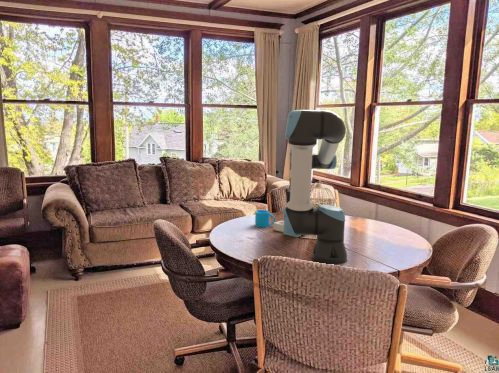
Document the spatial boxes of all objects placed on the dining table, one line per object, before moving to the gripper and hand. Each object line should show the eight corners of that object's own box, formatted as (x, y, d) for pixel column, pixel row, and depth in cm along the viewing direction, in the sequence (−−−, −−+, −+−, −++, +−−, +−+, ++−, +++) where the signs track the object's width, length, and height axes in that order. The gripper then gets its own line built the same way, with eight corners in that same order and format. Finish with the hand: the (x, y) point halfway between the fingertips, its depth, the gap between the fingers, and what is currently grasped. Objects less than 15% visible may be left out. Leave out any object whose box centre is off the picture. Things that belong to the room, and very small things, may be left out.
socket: (307, 233, 220) (307, 223, 219) (297, 237, 213) (297, 226, 212) (293, 230, 226) (293, 220, 225) (283, 234, 219) (283, 223, 218)
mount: (291, 229, 228) (291, 222, 227) (283, 232, 223) (284, 225, 222) (281, 227, 232) (281, 220, 232) (273, 229, 227) (273, 222, 227)
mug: (253, 226, 235) (253, 212, 233) (258, 223, 242) (258, 209, 241) (273, 228, 230) (273, 214, 229) (277, 225, 238) (277, 211, 237)
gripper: (314, 178, 212) (312, 222, 215) (288, 175, 223) (287, 217, 226) (305, 179, 206) (304, 225, 210) (279, 176, 217) (279, 219, 221)
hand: (295, 221), depth 218 cm, fingers closed on pin, 3 cm apart
